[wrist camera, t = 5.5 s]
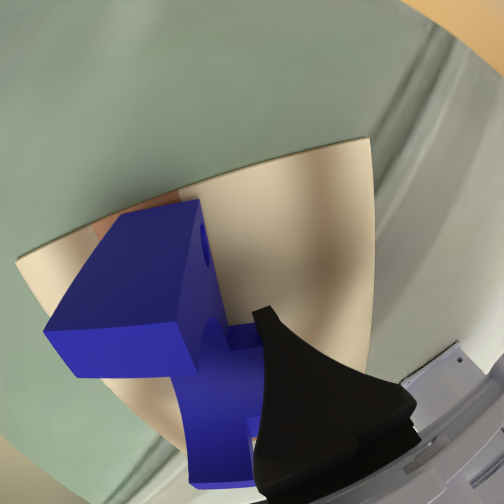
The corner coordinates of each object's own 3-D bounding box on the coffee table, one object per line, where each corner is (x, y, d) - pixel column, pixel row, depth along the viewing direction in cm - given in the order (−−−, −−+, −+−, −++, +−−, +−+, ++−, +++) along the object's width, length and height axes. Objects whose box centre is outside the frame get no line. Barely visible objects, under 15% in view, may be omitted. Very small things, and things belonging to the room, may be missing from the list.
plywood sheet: (365, 137, 11) (369, 138, 11) (360, 391, 22) (362, 393, 22) (17, 259, 9) (14, 262, 9) (190, 455, 20) (191, 458, 20)
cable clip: (271, 390, 16) (287, 482, 11) (198, 399, 16) (197, 489, 11) (242, 191, 10) (267, 308, 5) (120, 214, 10) (42, 331, 4)
